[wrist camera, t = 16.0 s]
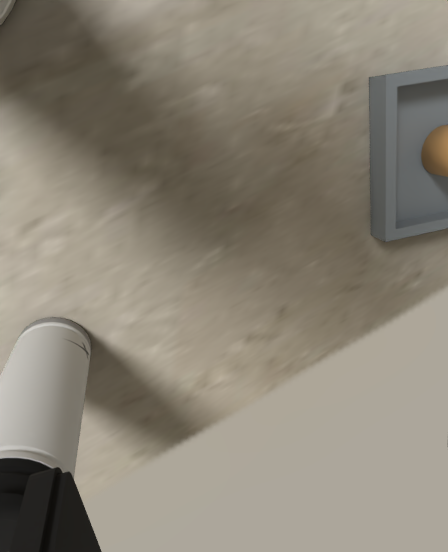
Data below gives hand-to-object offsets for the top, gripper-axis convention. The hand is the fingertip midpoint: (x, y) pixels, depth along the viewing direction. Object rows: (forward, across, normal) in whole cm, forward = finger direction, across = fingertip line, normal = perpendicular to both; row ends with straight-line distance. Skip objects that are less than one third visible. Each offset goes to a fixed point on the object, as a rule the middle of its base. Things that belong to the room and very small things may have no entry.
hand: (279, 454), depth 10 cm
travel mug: (+28, +12, +10) cm, 33 cm away
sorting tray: (+28, -26, -1) cm, 38 cm away
